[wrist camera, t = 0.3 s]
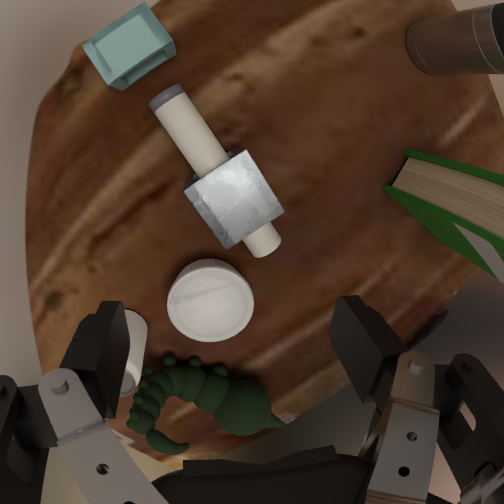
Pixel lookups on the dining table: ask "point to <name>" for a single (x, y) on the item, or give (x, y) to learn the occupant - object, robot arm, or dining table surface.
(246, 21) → the dining table surface
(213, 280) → the ramekin
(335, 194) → the dining table surface
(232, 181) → the sleeve
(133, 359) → the can
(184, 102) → the tube
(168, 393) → the dark green lumpy piece
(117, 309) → the robot arm
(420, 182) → the hardback book
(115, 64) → the socket
